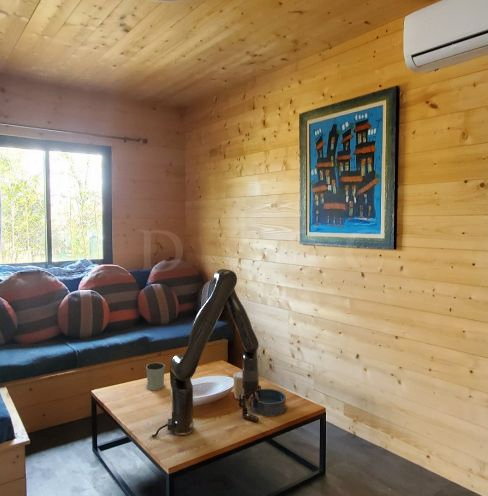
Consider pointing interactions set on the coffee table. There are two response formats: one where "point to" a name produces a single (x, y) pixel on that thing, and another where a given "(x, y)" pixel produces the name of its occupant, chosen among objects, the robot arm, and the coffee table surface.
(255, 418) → the stick
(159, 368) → the green cylindrical pot
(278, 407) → the bowl
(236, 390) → the coffee cup
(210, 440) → the coffee table surface
